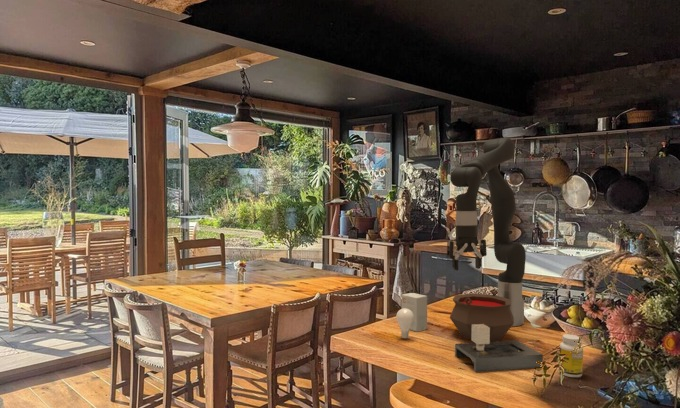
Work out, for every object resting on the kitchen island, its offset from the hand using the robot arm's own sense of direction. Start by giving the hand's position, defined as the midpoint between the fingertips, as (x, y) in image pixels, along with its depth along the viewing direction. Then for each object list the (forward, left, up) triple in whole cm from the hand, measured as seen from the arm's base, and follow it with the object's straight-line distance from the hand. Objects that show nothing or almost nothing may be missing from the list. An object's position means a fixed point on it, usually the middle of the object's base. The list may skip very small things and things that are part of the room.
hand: (466, 269), depth 166 cm
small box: (+12, -19, -26) cm, 34 cm away
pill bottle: (-17, +33, -26) cm, 45 cm away
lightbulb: (+20, -7, -26) cm, 34 cm away
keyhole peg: (+5, +20, -26) cm, 33 cm away
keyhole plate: (-1, +20, -26) cm, 33 cm away
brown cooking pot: (-9, -5, -26) cm, 28 cm away
